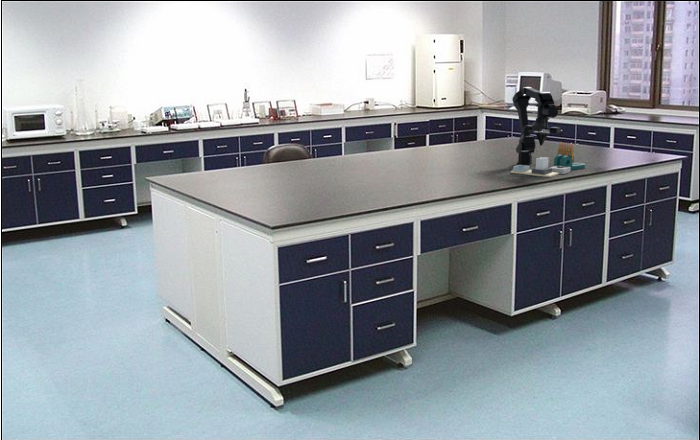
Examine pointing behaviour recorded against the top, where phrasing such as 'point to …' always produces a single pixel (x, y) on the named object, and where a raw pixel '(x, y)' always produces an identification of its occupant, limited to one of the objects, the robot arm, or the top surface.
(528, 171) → the board
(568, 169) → the grey knob block
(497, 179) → the top surface
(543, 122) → the robot arm
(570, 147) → the ammunition clip
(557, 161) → the bracket
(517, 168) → the header 3pin
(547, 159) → the plug
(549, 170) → the frame
